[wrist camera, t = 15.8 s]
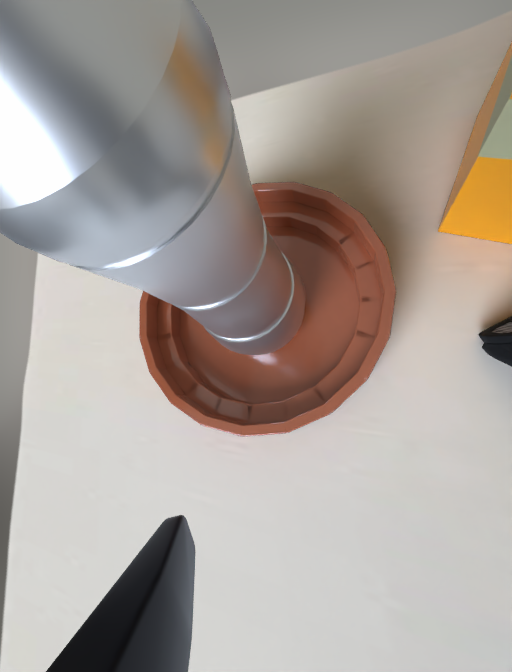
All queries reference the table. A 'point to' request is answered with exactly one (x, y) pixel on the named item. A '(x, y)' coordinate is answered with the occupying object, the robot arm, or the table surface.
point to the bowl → (309, 342)
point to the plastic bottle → (138, 163)
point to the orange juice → (486, 169)
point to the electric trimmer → (499, 341)
